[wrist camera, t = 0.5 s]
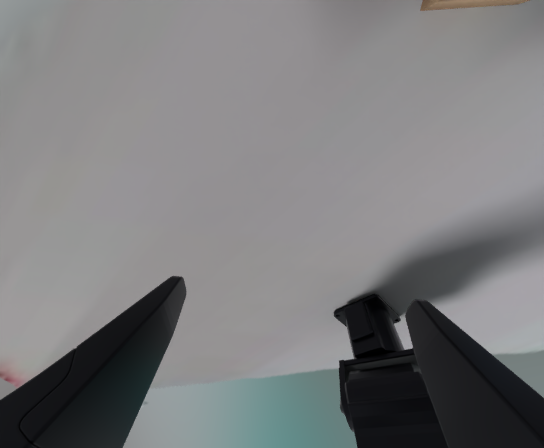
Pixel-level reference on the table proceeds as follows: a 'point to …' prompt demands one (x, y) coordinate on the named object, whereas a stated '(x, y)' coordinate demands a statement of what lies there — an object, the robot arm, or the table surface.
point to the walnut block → (465, 3)
